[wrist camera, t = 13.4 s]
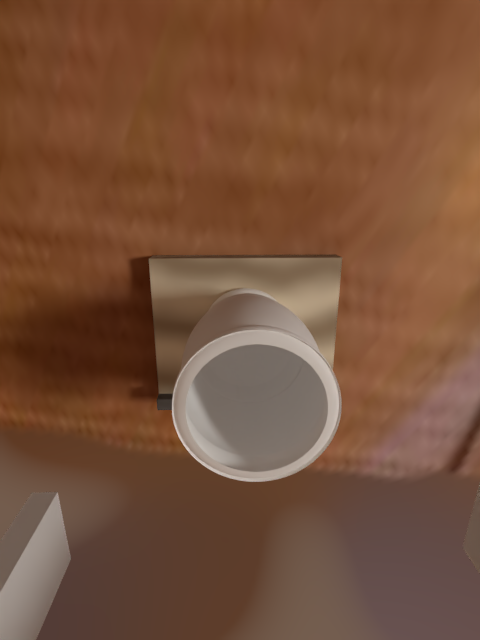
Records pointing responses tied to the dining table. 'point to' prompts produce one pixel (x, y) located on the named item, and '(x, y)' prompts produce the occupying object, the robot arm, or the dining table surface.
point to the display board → (230, 274)
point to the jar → (254, 390)
